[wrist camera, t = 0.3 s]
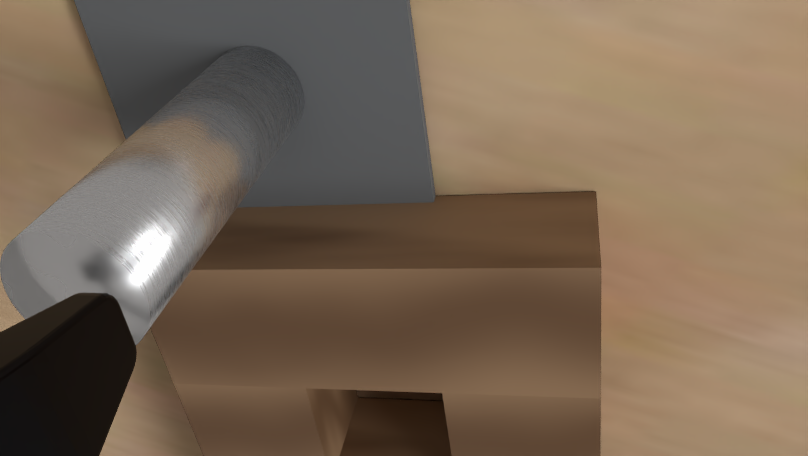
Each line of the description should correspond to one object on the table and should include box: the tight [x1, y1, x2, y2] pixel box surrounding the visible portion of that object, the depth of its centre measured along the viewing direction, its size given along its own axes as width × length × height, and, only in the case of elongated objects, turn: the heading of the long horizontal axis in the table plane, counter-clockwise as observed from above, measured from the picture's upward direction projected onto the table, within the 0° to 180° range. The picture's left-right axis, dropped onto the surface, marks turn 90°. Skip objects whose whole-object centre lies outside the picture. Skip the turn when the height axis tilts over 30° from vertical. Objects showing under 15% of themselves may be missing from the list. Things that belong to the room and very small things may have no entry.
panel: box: [74, 0, 435, 208], centre depth 22 cm, size 10×10×1 cm
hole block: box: [150, 192, 601, 456], centre depth 26 cm, size 14×14×4 cm
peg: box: [0, 46, 305, 345], centre depth 18 cm, size 3×3×10 cm
